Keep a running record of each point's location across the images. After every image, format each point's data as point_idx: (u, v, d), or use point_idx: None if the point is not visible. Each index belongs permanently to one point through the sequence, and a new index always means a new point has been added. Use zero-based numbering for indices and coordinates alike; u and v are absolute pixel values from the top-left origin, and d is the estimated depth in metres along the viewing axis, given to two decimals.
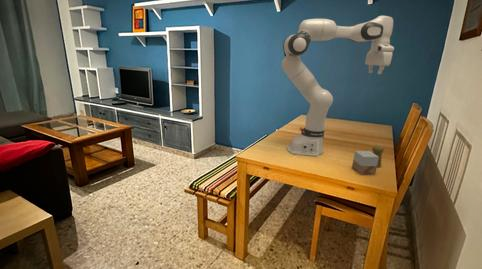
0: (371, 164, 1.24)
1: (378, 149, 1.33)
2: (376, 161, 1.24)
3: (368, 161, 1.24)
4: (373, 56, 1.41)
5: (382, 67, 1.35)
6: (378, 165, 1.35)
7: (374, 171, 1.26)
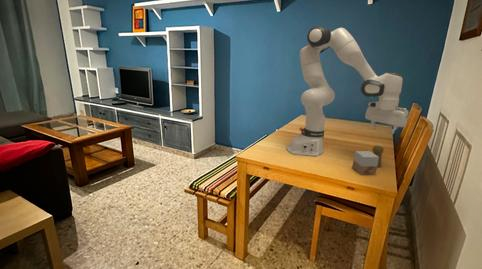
0: (371, 164, 1.24)
1: (378, 149, 1.33)
2: (376, 161, 1.24)
3: (368, 161, 1.24)
4: None
5: None
6: (378, 165, 1.35)
7: (374, 171, 1.26)
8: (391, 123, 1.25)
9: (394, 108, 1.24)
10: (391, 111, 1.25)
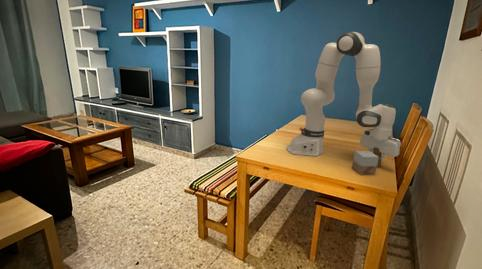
0: (371, 164, 1.24)
1: (378, 149, 1.33)
2: (376, 161, 1.24)
3: (368, 161, 1.24)
4: None
5: None
6: (378, 165, 1.35)
7: (373, 171, 1.26)
8: (384, 152, 1.30)
9: (387, 138, 1.29)
10: (384, 140, 1.30)
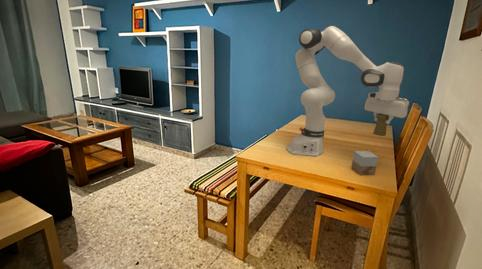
0: (371, 164, 1.24)
1: (383, 116, 1.26)
2: (375, 161, 1.24)
3: (367, 161, 1.24)
4: None
5: None
6: (383, 133, 1.28)
7: (373, 171, 1.26)
8: (391, 114, 1.23)
9: (394, 98, 1.21)
10: (391, 101, 1.22)
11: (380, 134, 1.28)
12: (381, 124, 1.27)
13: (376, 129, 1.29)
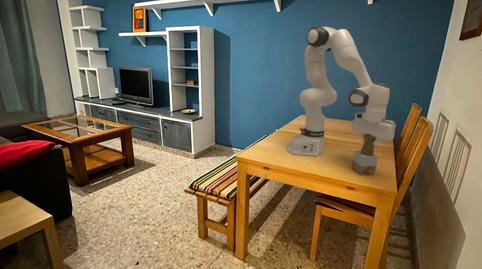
0: (370, 164, 1.24)
1: (371, 136, 1.21)
2: (375, 161, 1.24)
3: (367, 161, 1.23)
4: None
5: None
6: (370, 153, 1.24)
7: (373, 171, 1.26)
8: (378, 136, 1.19)
9: (381, 120, 1.17)
10: (378, 123, 1.18)
11: (367, 154, 1.24)
12: (369, 144, 1.23)
13: (363, 149, 1.25)
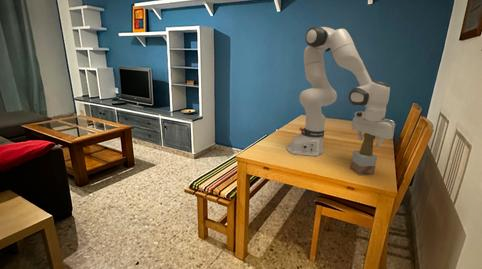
0: (369, 164, 1.24)
1: (370, 135, 1.22)
2: (374, 161, 1.24)
3: (366, 161, 1.24)
4: None
5: None
6: (369, 153, 1.24)
7: (372, 171, 1.26)
8: (377, 135, 1.19)
9: (380, 119, 1.17)
10: (378, 122, 1.18)
11: (366, 153, 1.24)
12: (368, 143, 1.23)
13: (362, 148, 1.25)
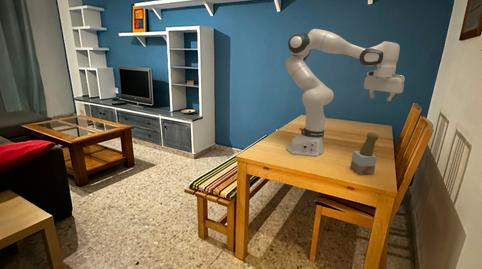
0: (369, 164, 1.24)
1: (372, 135, 1.21)
2: (374, 161, 1.24)
3: (366, 161, 1.24)
4: None
5: None
6: (369, 153, 1.23)
7: (372, 171, 1.26)
8: (388, 90, 1.31)
9: (391, 75, 1.29)
10: (388, 78, 1.30)
11: (365, 153, 1.24)
12: (369, 144, 1.23)
13: (363, 147, 1.25)
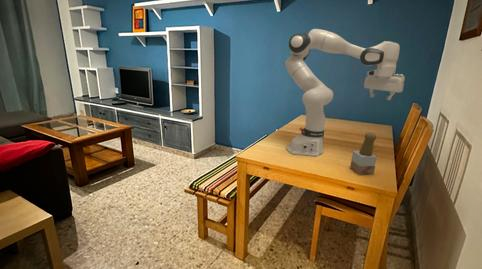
0: (369, 164, 1.24)
1: (368, 136, 1.21)
2: (374, 161, 1.24)
3: (366, 161, 1.24)
4: None
5: None
6: (367, 153, 1.24)
7: (372, 171, 1.26)
8: (388, 89, 1.32)
9: (391, 75, 1.31)
10: (388, 77, 1.32)
11: (364, 154, 1.24)
12: (366, 144, 1.23)
13: (361, 148, 1.26)
